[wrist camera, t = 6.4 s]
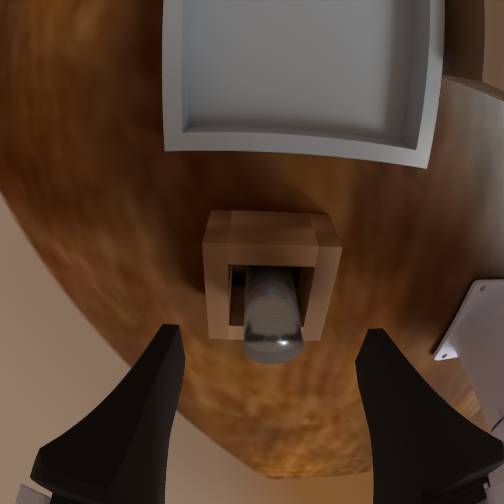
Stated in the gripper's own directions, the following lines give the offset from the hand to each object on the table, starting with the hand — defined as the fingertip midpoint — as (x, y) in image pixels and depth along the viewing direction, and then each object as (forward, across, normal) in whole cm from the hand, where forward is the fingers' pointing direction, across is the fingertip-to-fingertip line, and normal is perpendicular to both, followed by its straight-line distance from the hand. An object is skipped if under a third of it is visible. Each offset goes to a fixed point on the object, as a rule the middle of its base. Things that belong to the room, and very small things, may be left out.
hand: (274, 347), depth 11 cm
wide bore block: (+6, 0, 0) cm, 6 cm away
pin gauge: (+6, 0, 0) cm, 6 cm away
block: (+6, -9, -13) cm, 17 cm away
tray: (+6, -1, -12) cm, 13 cm away
